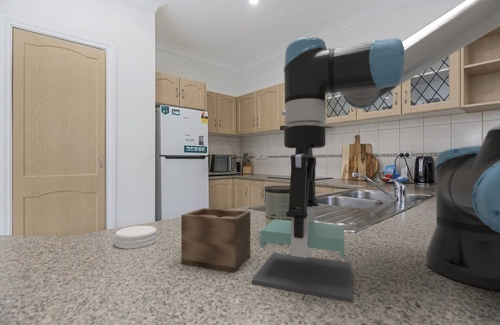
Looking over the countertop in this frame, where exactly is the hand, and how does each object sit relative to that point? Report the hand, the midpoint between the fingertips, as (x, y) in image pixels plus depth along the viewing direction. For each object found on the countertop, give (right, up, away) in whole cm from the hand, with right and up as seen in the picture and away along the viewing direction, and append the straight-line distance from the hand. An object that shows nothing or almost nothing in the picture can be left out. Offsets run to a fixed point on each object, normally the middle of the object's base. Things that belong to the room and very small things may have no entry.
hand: (304, 246), depth 46 cm
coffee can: (-1, -5, +23) cm, 23 cm away
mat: (0, -5, 0) cm, 5 cm away
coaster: (-40, -6, +18) cm, 44 cm away
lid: (0, +1, 0) cm, 1 cm away
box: (-17, -5, +7) cm, 19 cm away
